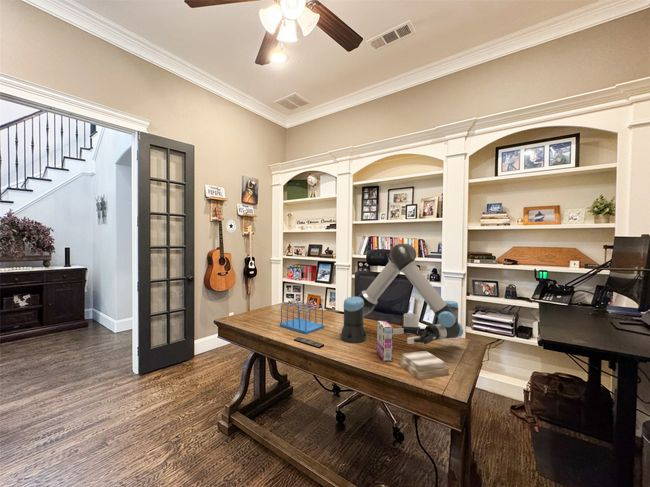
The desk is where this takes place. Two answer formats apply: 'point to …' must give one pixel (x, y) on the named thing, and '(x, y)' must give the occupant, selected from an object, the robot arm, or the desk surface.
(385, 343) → the candy bar box
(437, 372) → the plinth
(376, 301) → the robot arm
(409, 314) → the mug
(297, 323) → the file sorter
